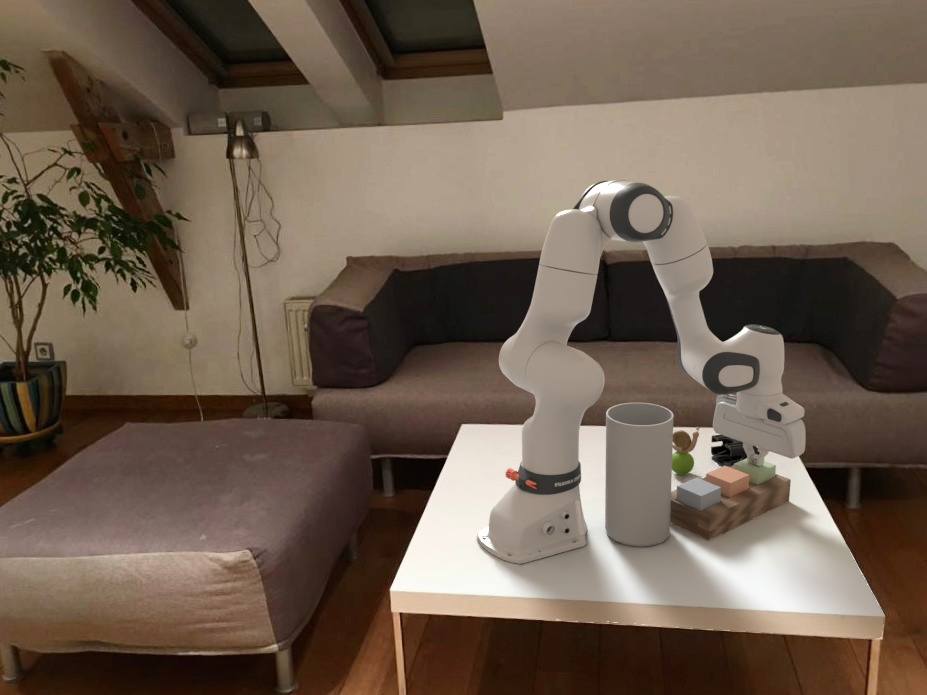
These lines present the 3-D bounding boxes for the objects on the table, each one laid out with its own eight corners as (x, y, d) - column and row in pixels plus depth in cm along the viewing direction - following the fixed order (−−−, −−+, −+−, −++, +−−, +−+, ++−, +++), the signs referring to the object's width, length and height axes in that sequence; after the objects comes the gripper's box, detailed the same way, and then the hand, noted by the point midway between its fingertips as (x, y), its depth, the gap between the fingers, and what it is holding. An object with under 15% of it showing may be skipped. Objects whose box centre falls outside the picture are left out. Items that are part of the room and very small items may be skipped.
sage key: (757, 490, 172) (758, 472, 171) (732, 481, 176) (733, 463, 175) (774, 482, 175) (775, 465, 174) (750, 473, 180) (751, 456, 179)
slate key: (700, 514, 162) (701, 496, 161) (676, 504, 166) (676, 485, 165) (720, 505, 165) (721, 487, 164) (695, 495, 170) (696, 477, 169)
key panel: (708, 540, 160) (709, 517, 159) (660, 518, 169) (661, 495, 168) (789, 501, 174) (790, 479, 173) (740, 482, 184) (742, 461, 182)
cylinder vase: (624, 511, 173) (625, 398, 166) (680, 528, 165) (684, 410, 158) (593, 536, 163) (593, 417, 156) (651, 555, 156) (654, 430, 149)
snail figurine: (692, 481, 185) (694, 431, 182) (665, 475, 189) (666, 425, 186) (701, 472, 189) (703, 423, 186) (674, 466, 193) (676, 418, 190)
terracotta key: (729, 501, 167) (730, 483, 166) (705, 491, 171) (706, 473, 170) (748, 492, 170) (749, 474, 169) (724, 483, 175) (724, 465, 174)
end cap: (759, 471, 189) (761, 443, 187) (731, 475, 188) (732, 447, 186) (736, 454, 198) (738, 428, 197) (709, 458, 197) (710, 431, 195)
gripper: (707, 393, 177) (705, 453, 181) (793, 419, 161) (788, 484, 165) (726, 386, 181) (723, 445, 185) (812, 411, 165) (807, 475, 169)
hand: (755, 463), depth 175 cm, fingers closed, pressing on sage key
